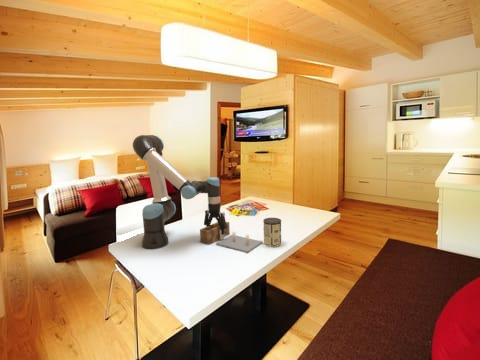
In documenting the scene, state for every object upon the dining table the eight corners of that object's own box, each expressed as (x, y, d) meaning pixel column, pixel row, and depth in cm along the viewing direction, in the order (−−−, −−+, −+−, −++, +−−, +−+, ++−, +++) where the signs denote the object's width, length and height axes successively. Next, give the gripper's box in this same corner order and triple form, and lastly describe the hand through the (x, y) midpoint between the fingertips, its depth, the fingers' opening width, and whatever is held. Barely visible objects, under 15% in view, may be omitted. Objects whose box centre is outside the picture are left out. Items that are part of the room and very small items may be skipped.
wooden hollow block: (209, 244, 157) (208, 231, 156) (200, 242, 161) (199, 229, 160) (229, 234, 174) (229, 222, 172) (221, 232, 178) (220, 220, 176)
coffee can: (270, 238, 165) (270, 216, 162) (284, 242, 158) (284, 219, 155) (260, 243, 157) (259, 220, 155) (274, 248, 150) (274, 224, 148)
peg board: (216, 244, 157) (215, 234, 156) (232, 236, 170) (231, 226, 169) (247, 253, 145) (247, 241, 144) (262, 243, 158) (262, 232, 157)
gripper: (196, 202, 167) (198, 236, 171) (224, 206, 155) (226, 243, 158) (204, 199, 173) (206, 232, 177) (232, 203, 161) (233, 239, 164)
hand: (215, 237), depth 168 cm, fingers open, 9 cm apart
